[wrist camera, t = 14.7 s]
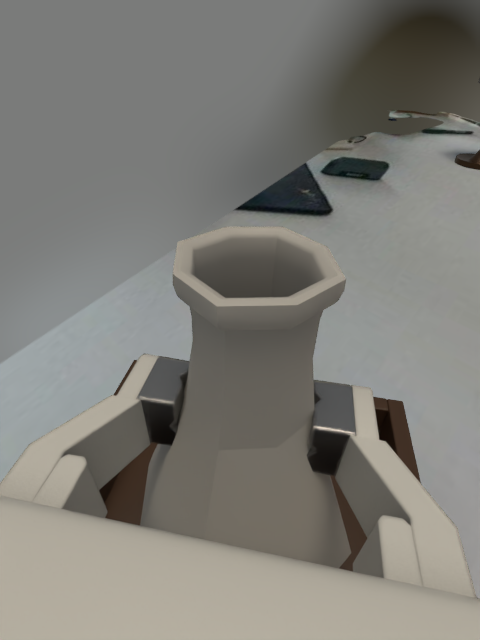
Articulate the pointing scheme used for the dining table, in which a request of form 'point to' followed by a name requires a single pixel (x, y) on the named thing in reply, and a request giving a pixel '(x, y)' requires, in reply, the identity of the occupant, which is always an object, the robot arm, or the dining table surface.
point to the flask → (250, 399)
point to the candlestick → (469, 158)
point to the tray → (130, 482)
